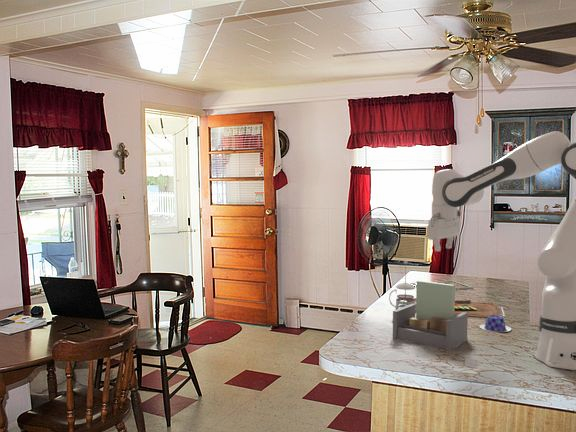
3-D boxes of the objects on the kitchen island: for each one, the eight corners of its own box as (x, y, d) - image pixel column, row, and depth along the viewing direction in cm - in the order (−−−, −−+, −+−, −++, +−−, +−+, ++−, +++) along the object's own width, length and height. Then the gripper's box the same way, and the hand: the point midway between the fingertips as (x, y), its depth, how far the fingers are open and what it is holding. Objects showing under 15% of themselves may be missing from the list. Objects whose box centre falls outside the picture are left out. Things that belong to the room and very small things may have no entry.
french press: (417, 322, 229) (418, 262, 227) (388, 320, 231) (389, 261, 229) (416, 316, 238) (417, 259, 237) (389, 315, 241) (389, 258, 239)
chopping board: (398, 313, 246) (398, 306, 246) (404, 300, 272) (404, 294, 271) (506, 320, 233) (506, 313, 232) (501, 306, 258) (502, 300, 258)
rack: (467, 343, 199) (467, 312, 198) (450, 354, 187) (450, 321, 187) (411, 332, 213) (412, 303, 212) (392, 342, 202) (392, 311, 201)
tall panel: (454, 339, 200) (455, 284, 198) (451, 340, 198) (452, 285, 197) (418, 332, 209) (419, 280, 207) (415, 333, 207) (416, 281, 205)
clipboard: (410, 283, 307) (457, 280, 315) (410, 285, 307) (457, 283, 315) (427, 289, 289) (477, 286, 297) (427, 292, 289) (477, 289, 297)
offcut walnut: (450, 342, 196) (451, 320, 196) (447, 343, 194) (448, 321, 194) (432, 338, 201) (432, 316, 200) (429, 339, 199) (429, 318, 198)
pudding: (485, 333, 213) (486, 320, 212) (474, 325, 225) (475, 312, 224) (516, 333, 213) (516, 320, 212) (504, 325, 225) (504, 312, 224)
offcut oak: (429, 337, 201) (430, 320, 201) (426, 339, 200) (427, 321, 199) (412, 334, 206) (412, 317, 205) (409, 335, 204) (409, 318, 204)
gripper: (439, 214, 195) (439, 253, 196) (463, 211, 210) (462, 247, 211) (423, 214, 199) (422, 251, 200) (447, 211, 215) (446, 246, 216)
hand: (443, 249), depth 206 cm, fingers open, 8 cm apart
